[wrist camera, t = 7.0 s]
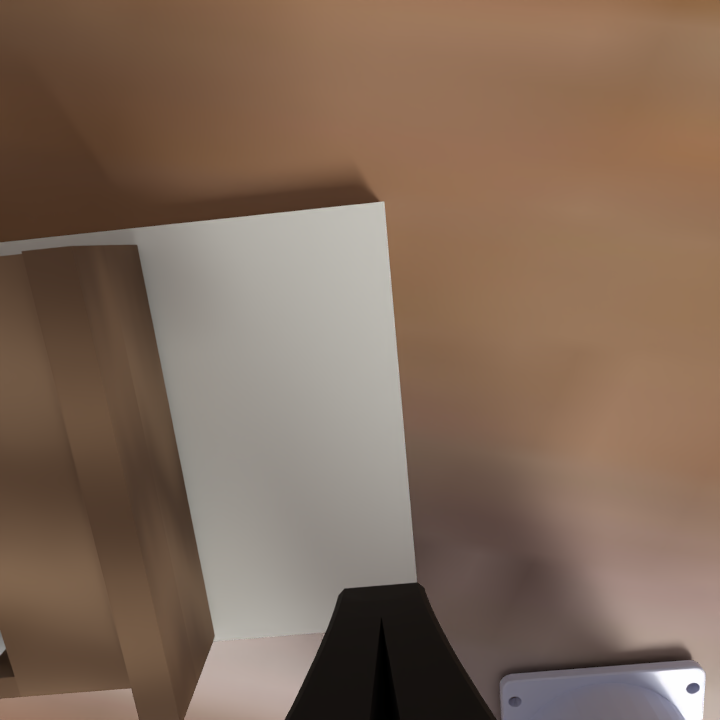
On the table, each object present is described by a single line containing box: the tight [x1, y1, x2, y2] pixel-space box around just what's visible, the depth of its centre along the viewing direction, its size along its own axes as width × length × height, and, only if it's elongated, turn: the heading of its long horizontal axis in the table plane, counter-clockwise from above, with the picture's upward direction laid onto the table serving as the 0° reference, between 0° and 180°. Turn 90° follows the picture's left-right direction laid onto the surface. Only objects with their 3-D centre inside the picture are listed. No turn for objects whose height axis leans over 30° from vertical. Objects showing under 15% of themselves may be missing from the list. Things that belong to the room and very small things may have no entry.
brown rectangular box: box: [0, 245, 215, 720], centre depth 15 cm, size 14×9×4 cm, turn 6°
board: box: [0, 202, 417, 655], centre depth 16 cm, size 15×18×5 cm
